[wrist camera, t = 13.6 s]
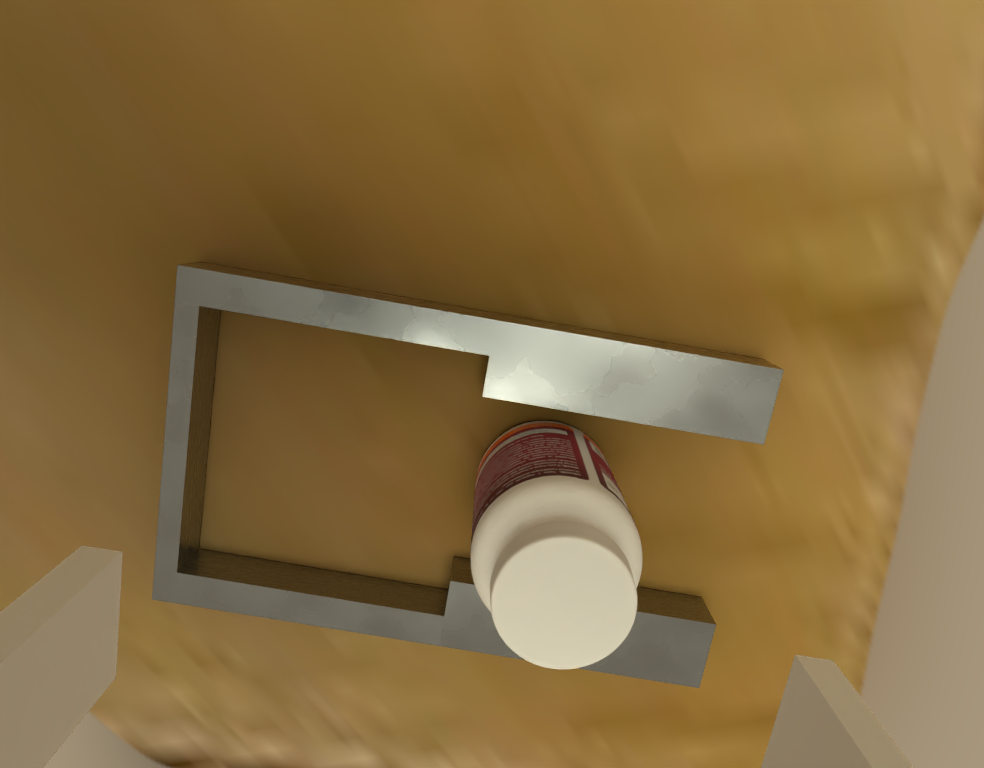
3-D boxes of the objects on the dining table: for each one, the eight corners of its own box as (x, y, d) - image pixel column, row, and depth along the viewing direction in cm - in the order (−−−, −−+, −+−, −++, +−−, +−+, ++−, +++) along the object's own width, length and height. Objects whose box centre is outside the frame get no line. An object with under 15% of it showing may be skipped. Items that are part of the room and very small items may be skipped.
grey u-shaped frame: (175, 573, 35) (152, 599, 32) (201, 261, 32) (177, 264, 29) (686, 657, 35) (699, 688, 33) (763, 359, 32) (783, 369, 30)
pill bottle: (454, 512, 34) (432, 647, 23) (509, 395, 33) (513, 480, 22) (574, 563, 34) (607, 719, 24) (633, 450, 33) (696, 560, 22)
